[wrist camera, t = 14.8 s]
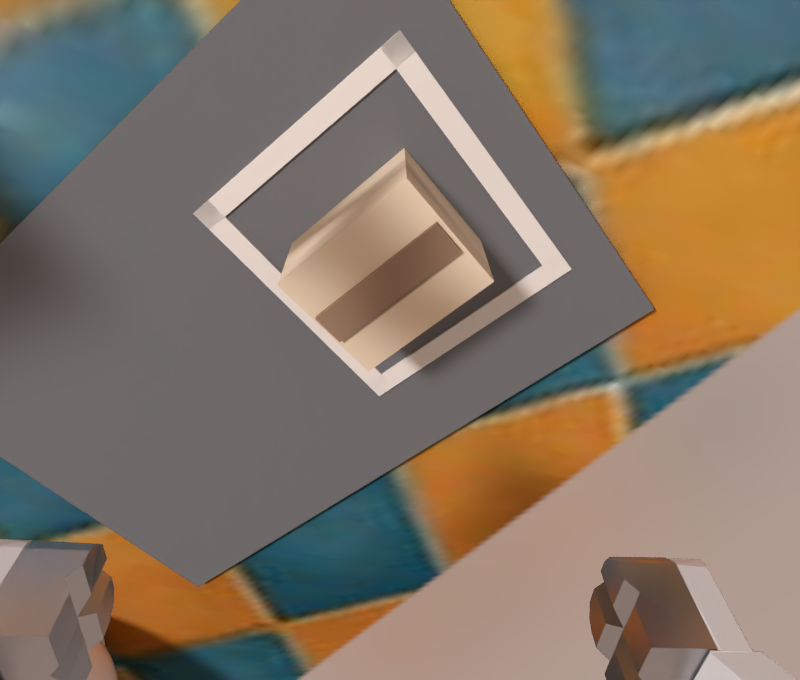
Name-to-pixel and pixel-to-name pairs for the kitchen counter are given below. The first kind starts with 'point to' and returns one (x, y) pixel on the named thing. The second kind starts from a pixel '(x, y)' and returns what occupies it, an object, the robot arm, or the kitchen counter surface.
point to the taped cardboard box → (385, 263)
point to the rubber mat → (259, 275)
